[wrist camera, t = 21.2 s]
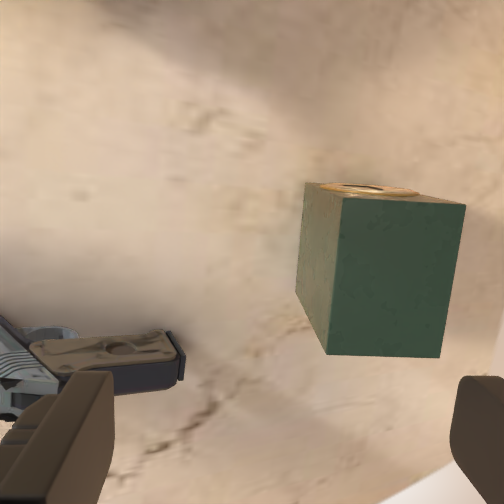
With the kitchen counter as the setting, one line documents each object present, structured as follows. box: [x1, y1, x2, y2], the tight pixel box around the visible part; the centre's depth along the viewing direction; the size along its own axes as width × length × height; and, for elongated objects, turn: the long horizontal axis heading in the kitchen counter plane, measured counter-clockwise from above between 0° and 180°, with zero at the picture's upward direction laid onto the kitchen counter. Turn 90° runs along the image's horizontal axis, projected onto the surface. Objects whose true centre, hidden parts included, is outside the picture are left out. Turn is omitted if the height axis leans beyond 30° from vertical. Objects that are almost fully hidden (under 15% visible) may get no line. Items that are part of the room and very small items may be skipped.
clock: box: [296, 183, 466, 358], centre depth 26 cm, size 10×6×8 cm
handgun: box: [0, 315, 186, 422], centre depth 29 cm, size 2×14×12 cm
